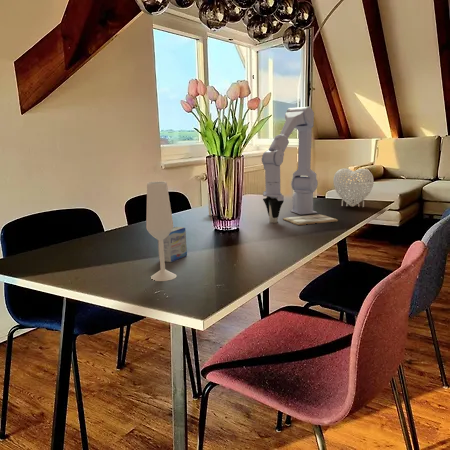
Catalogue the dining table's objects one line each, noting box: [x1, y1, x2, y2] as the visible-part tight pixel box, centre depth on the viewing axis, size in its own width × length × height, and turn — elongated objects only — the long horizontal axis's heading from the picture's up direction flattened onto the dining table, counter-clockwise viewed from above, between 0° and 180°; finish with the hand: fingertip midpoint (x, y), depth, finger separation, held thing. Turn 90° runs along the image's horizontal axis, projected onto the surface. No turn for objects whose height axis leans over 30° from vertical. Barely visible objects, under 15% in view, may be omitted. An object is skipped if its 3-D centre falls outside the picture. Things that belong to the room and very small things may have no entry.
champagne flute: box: [145, 181, 177, 282], centre depth 112 cm, size 7×7×24 cm
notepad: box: [282, 213, 339, 226], centre depth 177 cm, size 13×17×1 cm
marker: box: [268, 203, 279, 224], centre depth 176 cm, size 3×3×8 cm
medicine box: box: [157, 226, 188, 263], centre depth 131 cm, size 8×4×9 cm, turn 148°
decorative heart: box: [333, 167, 374, 208], centre depth 203 cm, size 18×11×17 cm, turn 54°
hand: (273, 216), depth 176 cm, fingers closed on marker, 3 cm apart
